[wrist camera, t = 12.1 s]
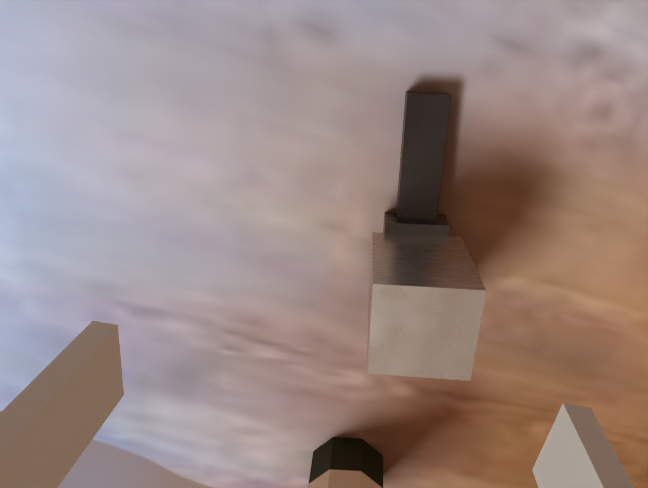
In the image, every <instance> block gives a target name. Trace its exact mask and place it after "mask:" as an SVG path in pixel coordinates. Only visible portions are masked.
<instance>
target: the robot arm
mask: <svg viewBox="0 0 648 488" xmlns="http://www.w3.org/2000/svg"><path fill="white" fill-rule="evenodd" d="M123 395H124V391H123V380H122V369H121V357H120V346H119V335H118V325H114V324H108V323H103V322H97V321H92V322H91V323H90V324H89V325H88V326H87V327H86V328H85V329H84V330H83V331H82V332H81V333H80V334H79V335H78V336H77V337H76V338H75V339H74V340H73V341H72V342H71V343H70V344H69V345H68V346H67V347H66V348H65V349H64V350H63V351H62V352H61V353H60V354H59V355H58V356H57V357H56V358H55V359H54V360H53V361H52V362H51V363H50V364H49V365H48V366H47V367H46V368H45V369H44V370H43V371H42V372H41V373H40V374H39V375H38V376H37V377H36V378H35V379H34V380H33V381H32V382H31V383H30V384H29V385H28V386H27V387H26V388H25V389H24V390H23V391H22V392H21V393H20V394H19V395H18V396H17V397H16V398H15V399H14V400H13V401H12V402H11V403H10V404H9V405H8V406H7V407H6V408H5V409H4V410H3V411H2V412H1V413H0V488H57V487H58V486H59V485H60V483H61V482H62V480H63V479H64V477H65V476H66V475H67V473H68V472H69V470H70V469H71V468H72V466H73V465H74V463H75V462H76V461H77V459H78V458H79V457H80V455H81V454H82V452H83V451H84V449H85V448H86V447H87V445H88V444H89V443H90V441H91V440H92V438H93V437H94V436H95V434H96V433H97V431H98V430H99V429H100V427H101V426H102V424H103V423H104V422H105V420H106V419H107V417H108V416H109V415H110V413H111V412H112V411H113V409H114V408H115V406H116V405H117V404H118V402H119V401H120V399H121V398H122V397H123ZM533 473H534V476H535V479H536V482H537V485H538V488H634V486H633V485H632V483H631V481H630V479H629V477H628V475H627V474H626V472H625V470H624V468H623V466H622V465H621V463H620V461H619V459H618V457H617V455H616V454H615V452H614V450H613V448H612V446H611V444H610V443H609V441H608V439H607V437H606V435H605V433H604V432H603V430H602V428H601V426H600V424H599V423H598V421H597V419H596V417H595V415H594V413H593V412H592V410H591V408H588V407H582V406H576V405H571V404H565V403H563V404H562V406H561V409H560V411H559V413H558V415H557V417H556V420H555V422H554V424H553V426H552V428H551V430H550V433H549V435H548V437H547V439H546V441H545V444H544V446H543V448H542V450H541V452H540V454H539V457H538V459H537V461H536V463H535V465H534V468H533Z"/></svg>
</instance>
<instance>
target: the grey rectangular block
mask: <svg viewBox="0 0 648 488" xmlns="http://www.w3.org/2000/svg"><path fill="white" fill-rule="evenodd" d="M485 296H486V288H485V286H484V284H483V282H482V280H481V278H480V275H479V273H478V271H477V269H476V267H475V265H474V263H473V260H472V258H471V256H470V254H469V252H468V250H467V247H466V245H465V243H464V241H463V239H462V237H456V236H436V235H416V234H396V233H376V232H373V237H372V253H371V269H370V286H369V302H368V347H367V373H370V374H384V375H397V376H410V377H424V378H437V379H451V380H464V381H471V375H472V370H473V364H474V358H475V353H476V347H477V341H478V336H479V330H480V324H481V319H482V313H483V308H484V302H485Z"/></svg>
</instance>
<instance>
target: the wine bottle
mask: <svg viewBox="0 0 648 488" xmlns="http://www.w3.org/2000/svg"><path fill="white" fill-rule="evenodd" d="M308 488H383V457H382V455H381V454H380V453H379V452H378V451H376V450H375V449H374V448H373V447H371V446H370V445H369V444H368V443H366V442H365V441H364V440H363V439H351V438H332V439H330V440H329V441H327V442H326V443H325V444H323V445H322V446H321V447H319V448H318V449H316V450H315V451H314V452H313V458H312V465H311V472H310V479H309V485H308Z"/></svg>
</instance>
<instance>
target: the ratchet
mask: <svg viewBox="0 0 648 488" xmlns="http://www.w3.org/2000/svg"><path fill="white" fill-rule="evenodd" d="M450 100H451V95H450V94H448V93H425V92H406V95H405V108H404V120H403V133H402V146H401V158H400V171H399V184H398V196H397V209H396V213H385V214H384V228H383V233H396V234H416V235H436V236H449V229H450V225H449V222H448V220H447V218H446V215H437V212H438V203H439V195H440V186H441V178H442V169H443V160H444V152H445V143H446V135H447V126H448V117H449V109H450Z"/></svg>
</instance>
